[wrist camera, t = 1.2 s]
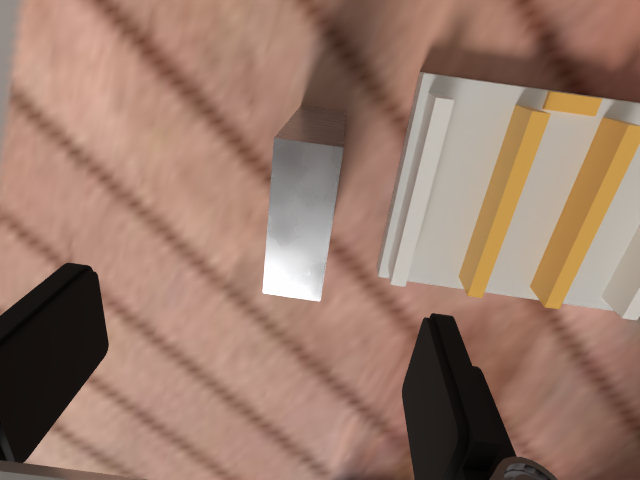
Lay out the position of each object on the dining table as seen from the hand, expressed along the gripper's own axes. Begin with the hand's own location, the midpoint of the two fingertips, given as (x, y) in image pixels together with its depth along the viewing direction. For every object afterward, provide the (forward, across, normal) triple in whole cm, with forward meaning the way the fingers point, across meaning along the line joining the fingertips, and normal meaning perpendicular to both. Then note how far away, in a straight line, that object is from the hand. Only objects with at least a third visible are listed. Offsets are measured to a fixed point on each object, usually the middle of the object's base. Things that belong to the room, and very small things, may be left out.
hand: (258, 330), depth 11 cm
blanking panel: (+18, 0, +1) cm, 18 cm away
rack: (+18, -18, +1) cm, 25 cm away
